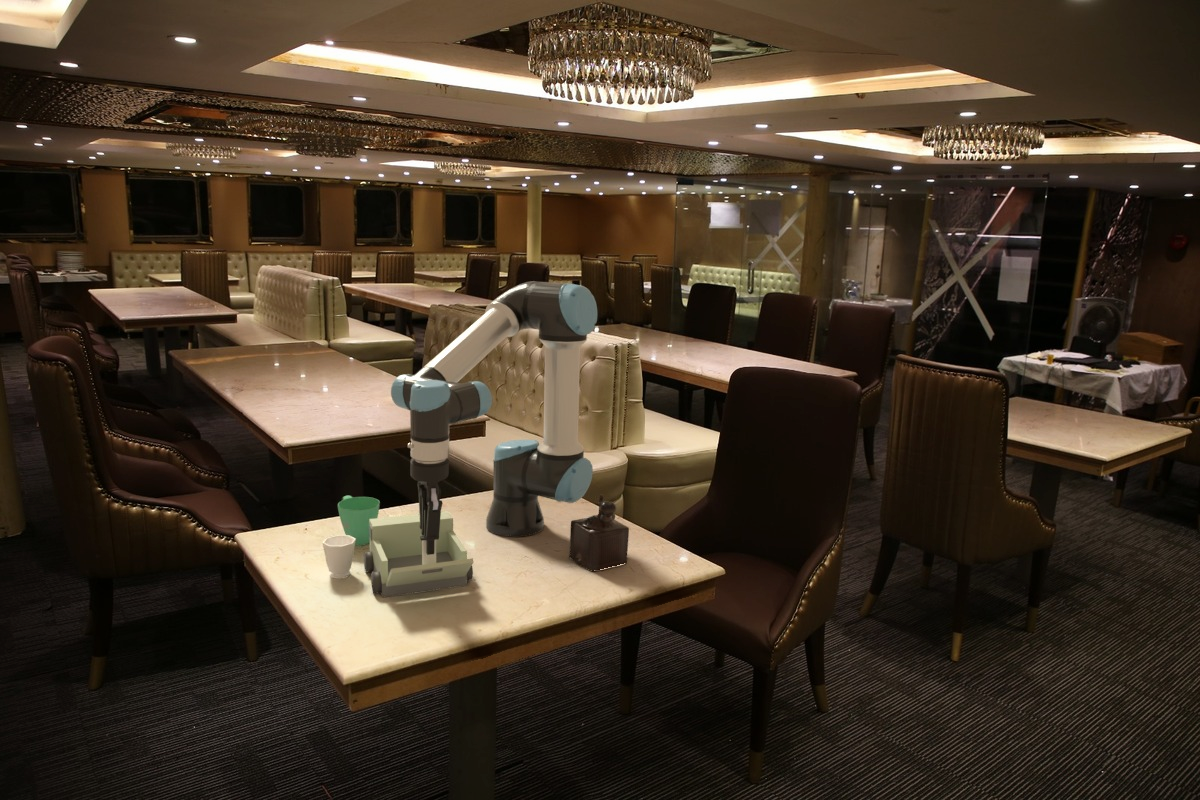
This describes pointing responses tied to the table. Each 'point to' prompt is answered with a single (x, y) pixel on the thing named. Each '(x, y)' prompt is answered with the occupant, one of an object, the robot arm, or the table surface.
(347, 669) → the table surface
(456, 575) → the panel
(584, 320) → the robot arm
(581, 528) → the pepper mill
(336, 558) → the cup
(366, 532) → the mug
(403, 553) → the pickup truck
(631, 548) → the table surface
